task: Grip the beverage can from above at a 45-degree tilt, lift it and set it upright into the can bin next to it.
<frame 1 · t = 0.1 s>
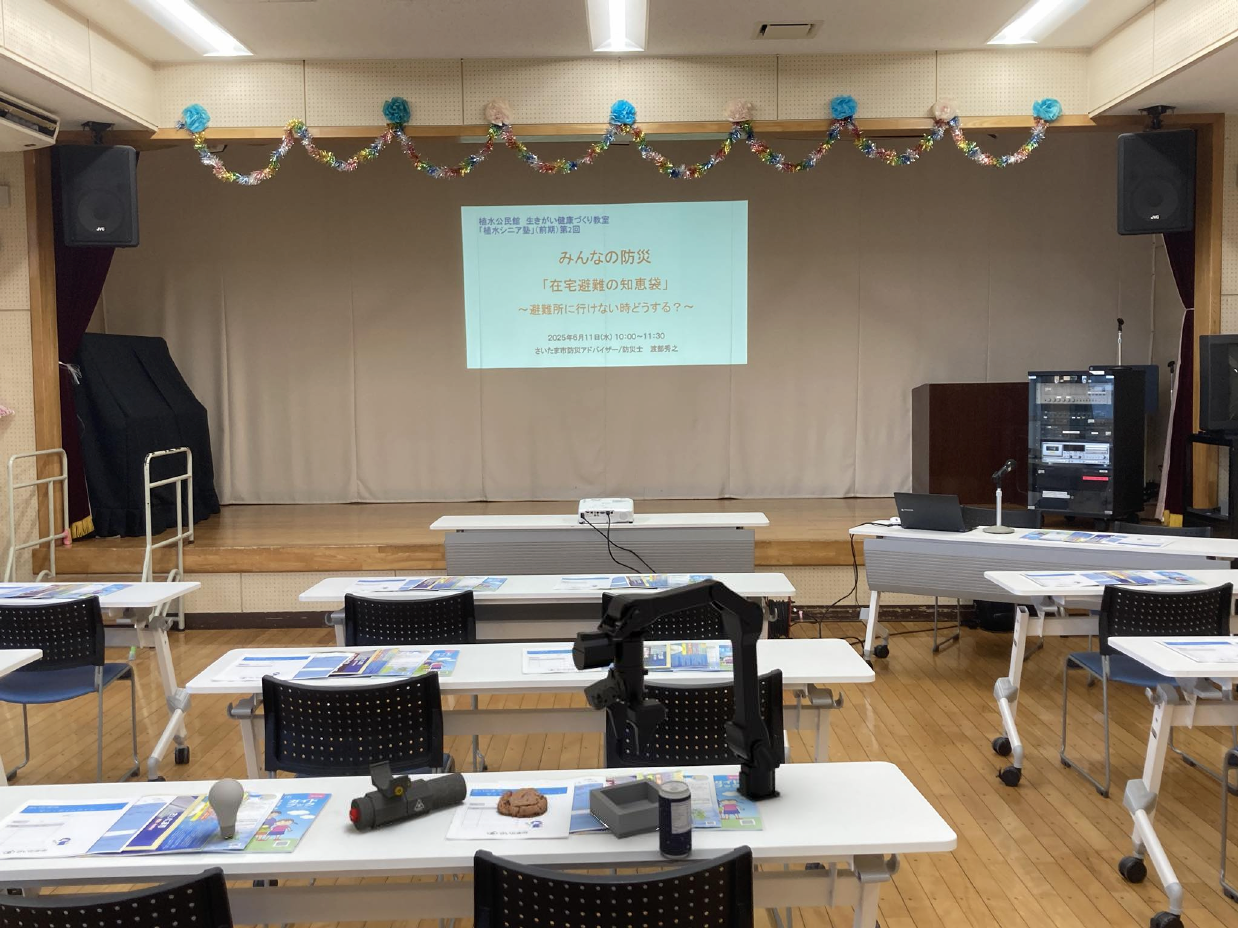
hand: (630, 745, 180), 15 cm above the table, tool pointing down, fingers open, 9 cm apart
can bin: (635, 818, 183), on the table
cookie: (523, 809, 189), on the table
lightbulb: (228, 838, 178), on the table
beverage can: (675, 854, 168), on the table
laser sight: (408, 817, 187), on the table
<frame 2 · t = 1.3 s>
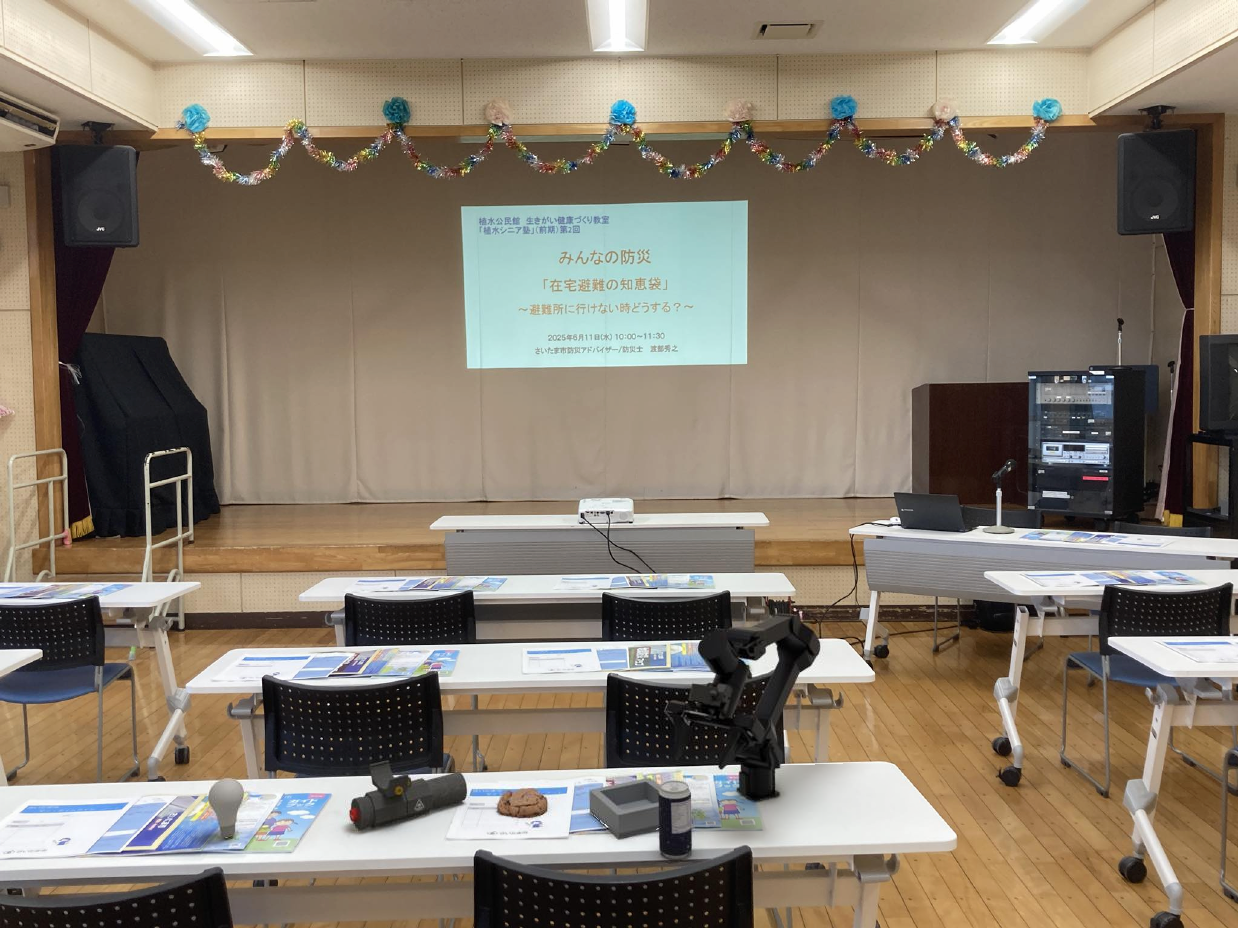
hand: (697, 763, 174), 13 cm above the table, tool tilted 45°, fingers open, 9 cm apart
nothing on the table moved.
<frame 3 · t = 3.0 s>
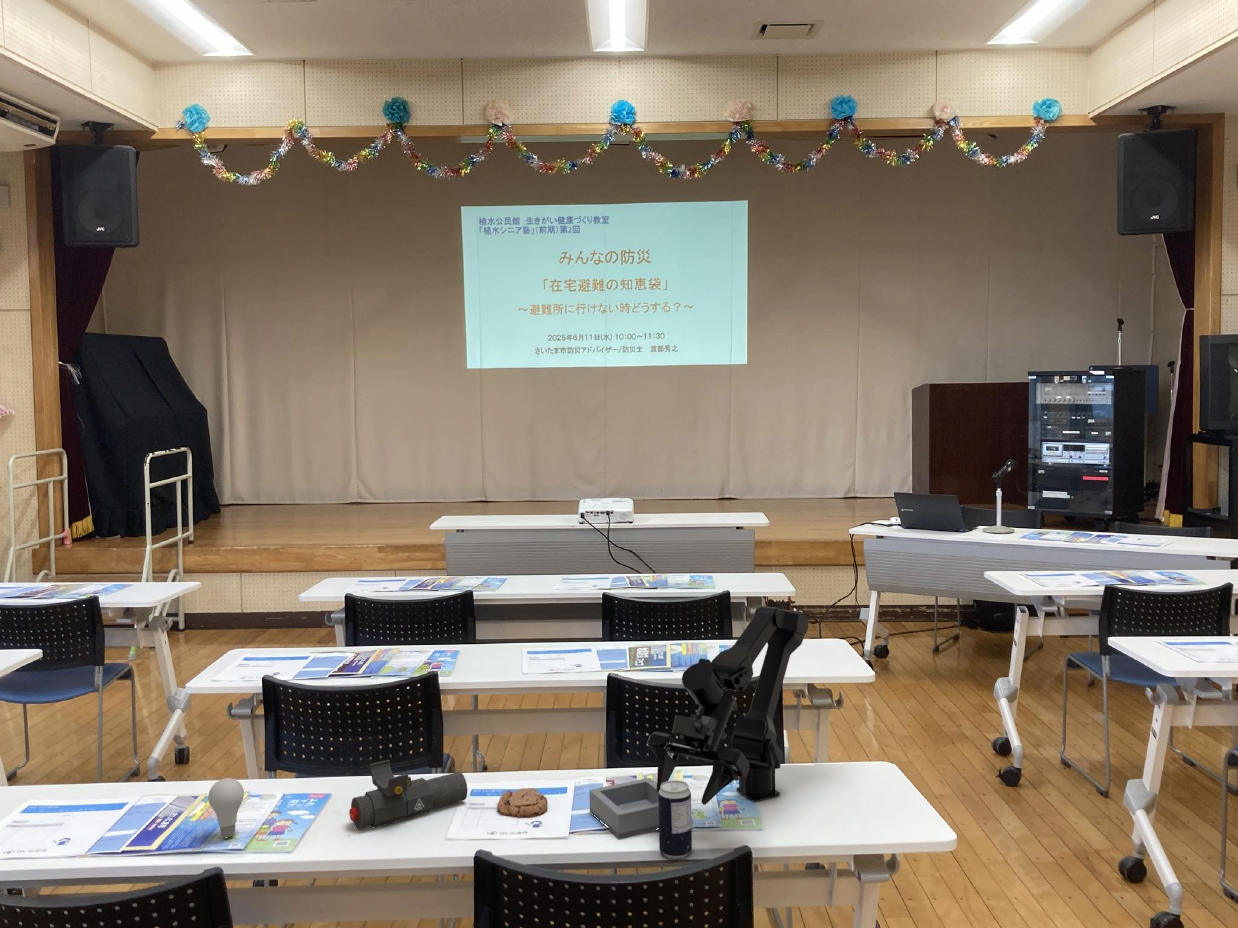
hand: (680, 797, 169), 9 cm above the table, tool tilted 45°, fingers open, 9 cm apart
nothing on the table moved.
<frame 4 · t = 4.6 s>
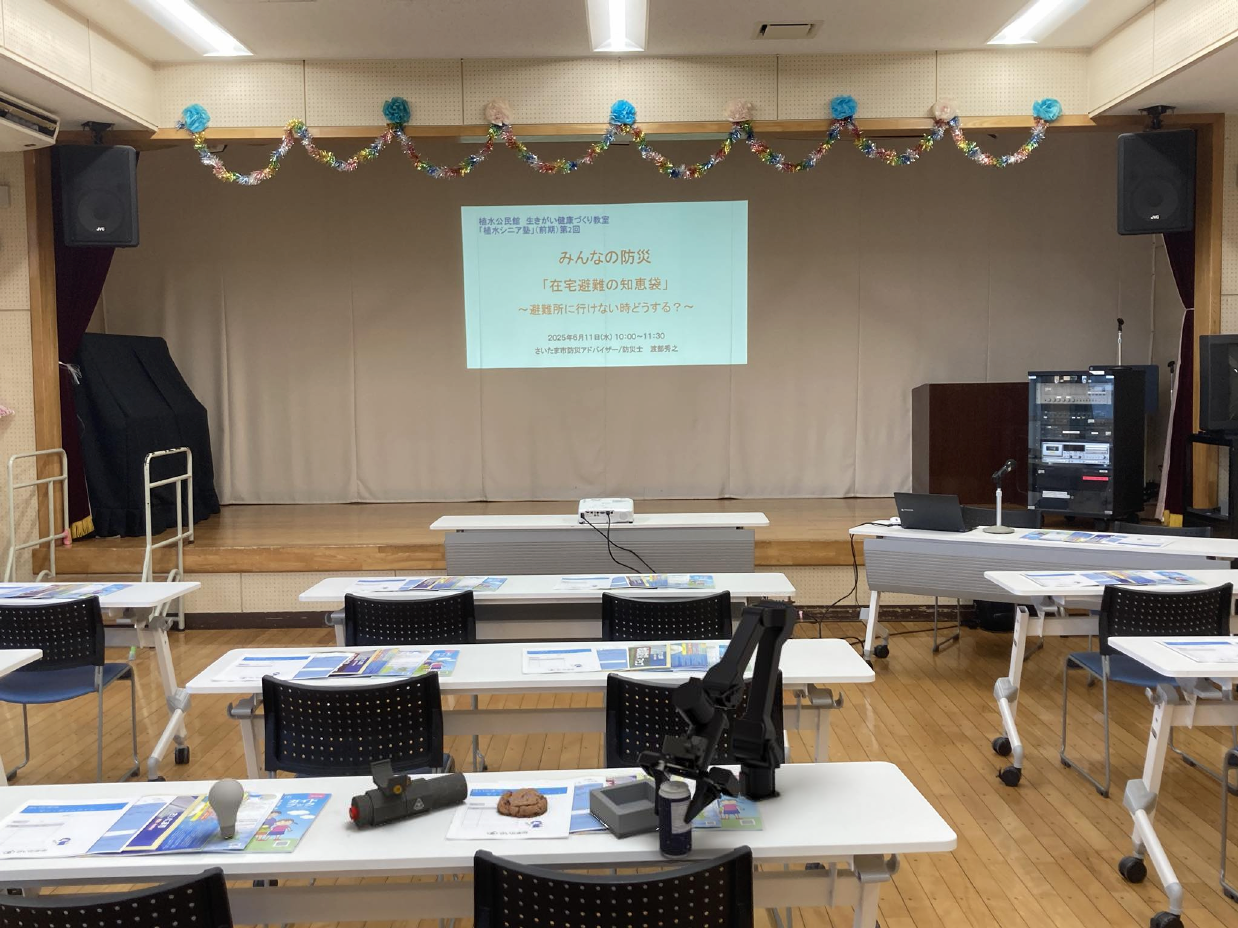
hand: (670, 818, 167), 7 cm above the table, tool tilted 45°, fingers closed on beverage can, 6 cm apart
beverage can: (675, 854, 168), on the table, touching gripper
everything else where it was.
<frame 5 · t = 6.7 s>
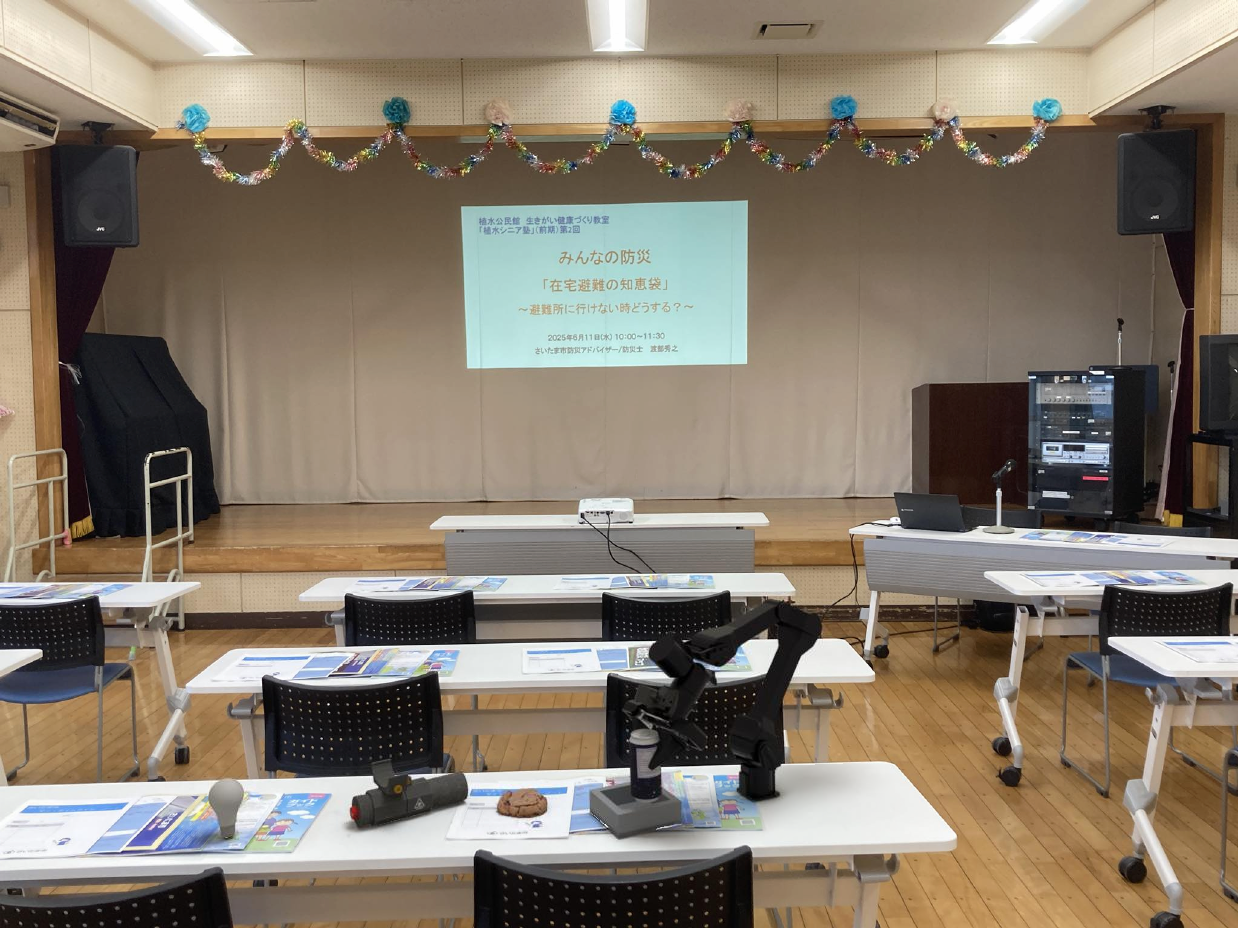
hand: (639, 764, 175), 13 cm above the table, tool tilted 45°, fingers closed on beverage can, 6 cm apart
beverage can: (646, 798, 176), point 6 cm above the table, touching gripper
everything else where it was.
when the fingers open (9 cm above the table, at t = 9.2 s): beverage can drops 1 cm, resting on can bin.
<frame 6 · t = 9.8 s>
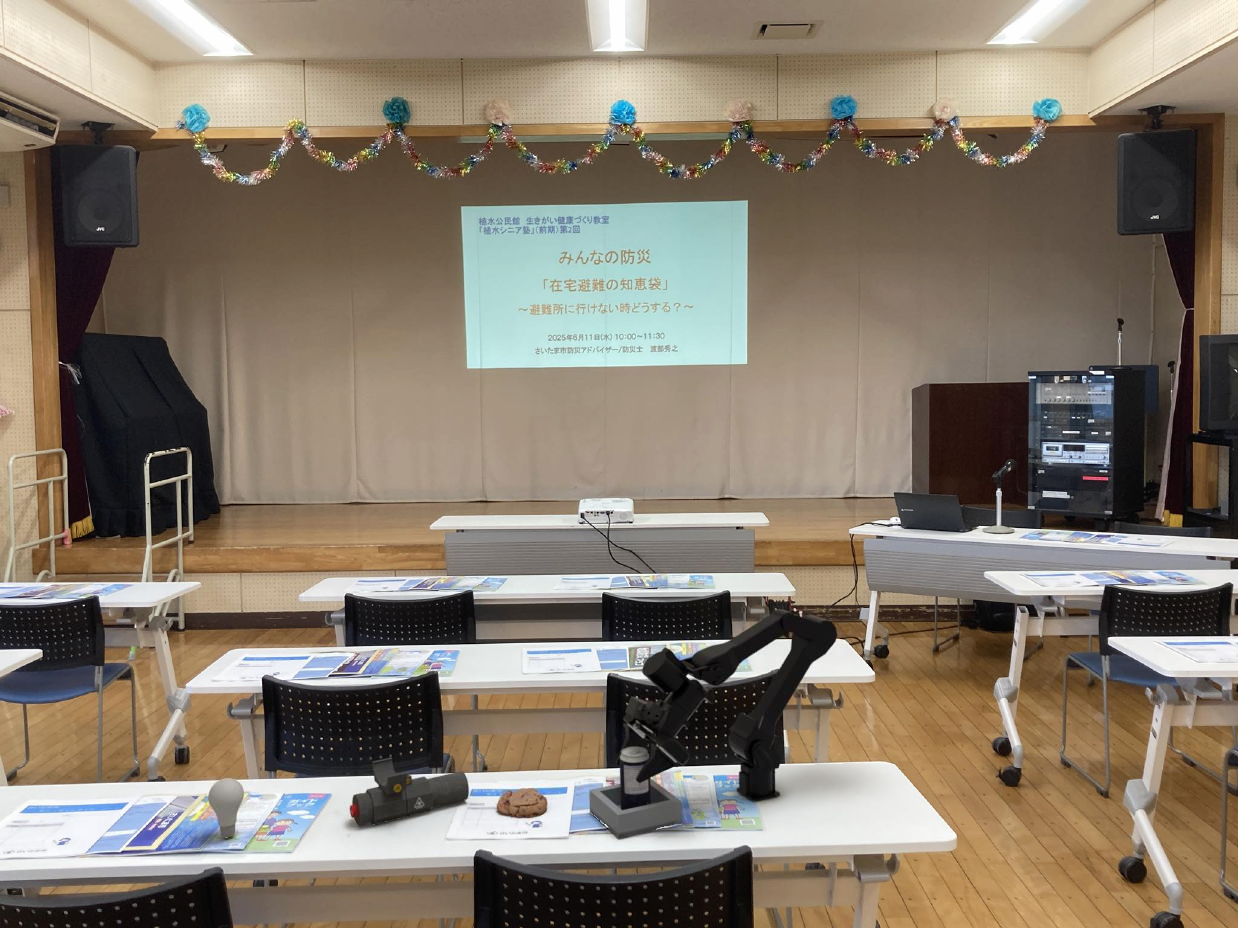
hand: (627, 772, 182), 9 cm above the table, tool tilted 45°, fingers open, 9 cm apart
beverage can: (636, 813, 183), point 1 cm above the table, touching can bin
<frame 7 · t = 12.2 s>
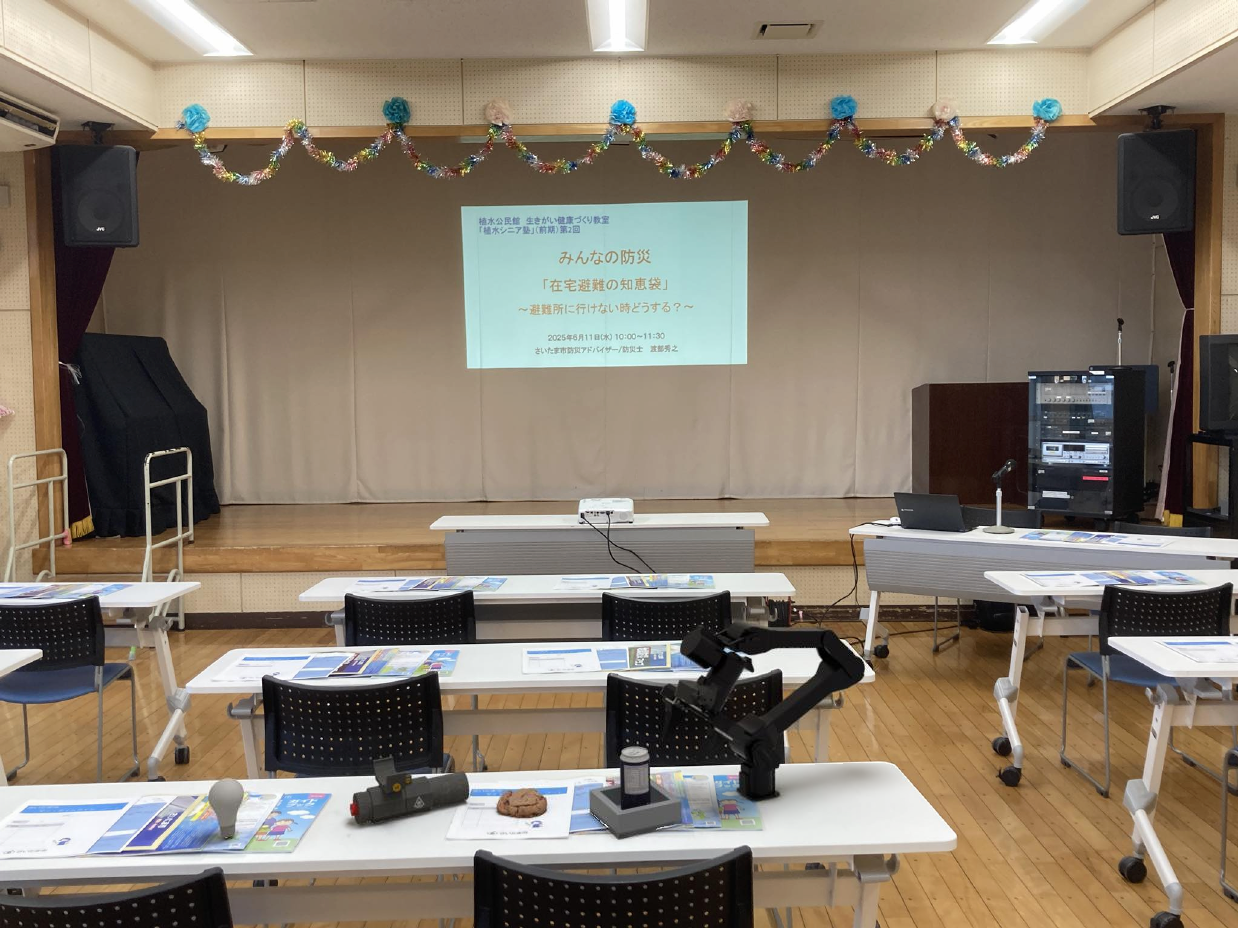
hand: (679, 751, 186), 12 cm above the table, tool tilted 35°, fingers open, 9 cm apart
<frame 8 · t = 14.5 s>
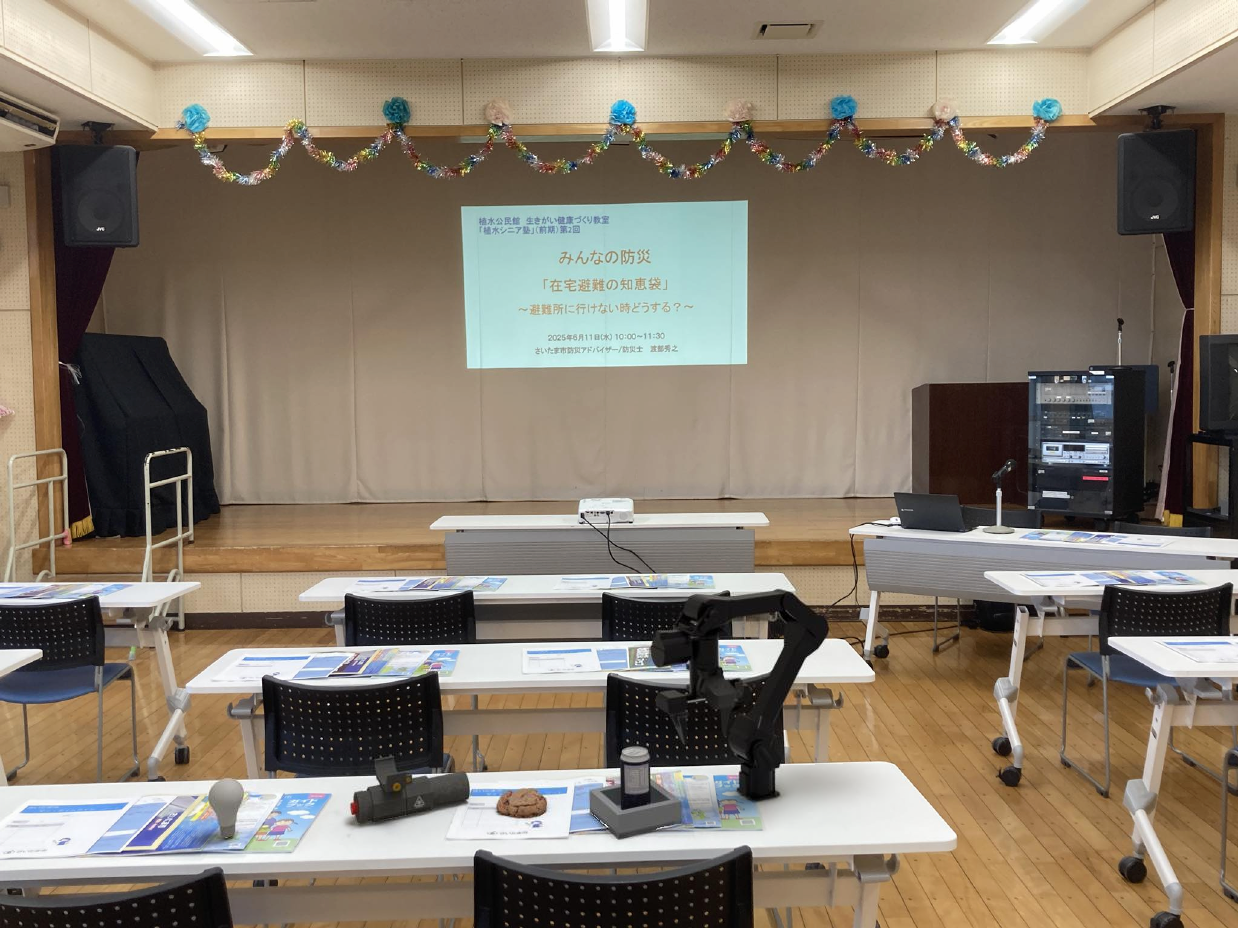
hand: (705, 739, 187), 13 cm above the table, tool pointing down, fingers open, 9 cm apart
at the end: beverage can 0.2 cm off-centre on the can bin, point 0.8 cm above the can bin's base; beverage can tilted 0°; the gripper is holding nothing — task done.
